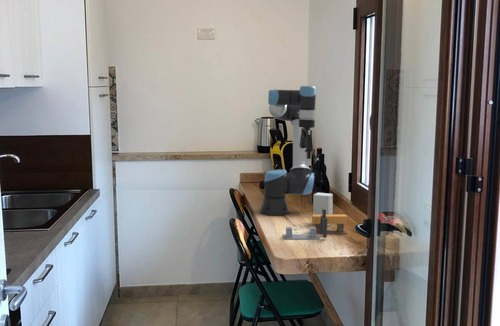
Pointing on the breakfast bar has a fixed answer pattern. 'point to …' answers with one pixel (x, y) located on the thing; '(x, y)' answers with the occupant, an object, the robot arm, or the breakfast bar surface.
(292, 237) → the clip mount
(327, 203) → the skincare box
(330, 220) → the orange tapered block
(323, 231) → the grey gate frame
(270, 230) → the breakfast bar surface
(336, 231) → the rest
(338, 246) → the breakfast bar surface
